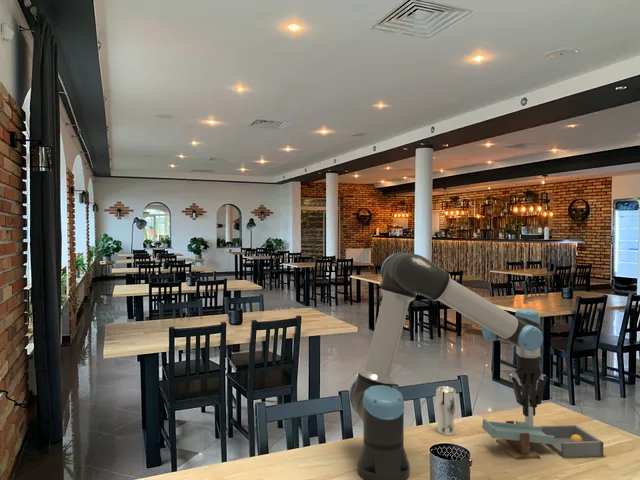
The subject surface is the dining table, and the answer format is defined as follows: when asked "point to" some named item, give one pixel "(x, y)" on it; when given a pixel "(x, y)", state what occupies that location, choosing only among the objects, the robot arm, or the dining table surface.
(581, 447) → the grey shallow open box
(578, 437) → the ball
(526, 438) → the fulcrum
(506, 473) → the dining table surface
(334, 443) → the dining table surface
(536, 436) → the lever
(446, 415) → the beer glass
